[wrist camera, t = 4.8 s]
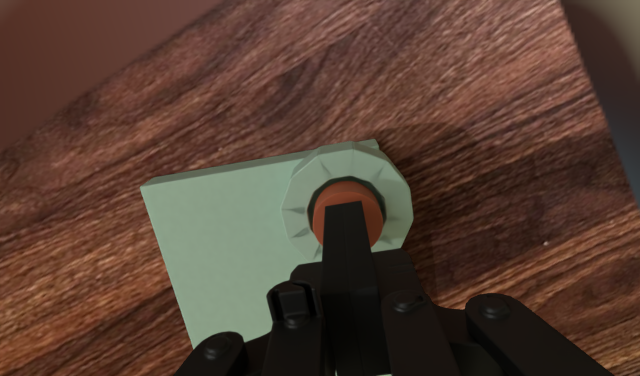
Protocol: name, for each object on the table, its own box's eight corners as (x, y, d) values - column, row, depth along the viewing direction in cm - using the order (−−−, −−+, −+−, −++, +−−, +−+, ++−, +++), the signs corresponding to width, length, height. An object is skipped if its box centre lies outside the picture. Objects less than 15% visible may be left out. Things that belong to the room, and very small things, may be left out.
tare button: (308, 186, 19) (306, 197, 17) (374, 175, 18) (377, 186, 17) (320, 245, 19) (319, 261, 18) (383, 235, 19) (387, 251, 18)
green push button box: (150, 169, 22) (117, 189, 19) (392, 126, 21) (404, 140, 17) (219, 384, 26) (203, 432, 23) (423, 358, 25) (437, 404, 22)
